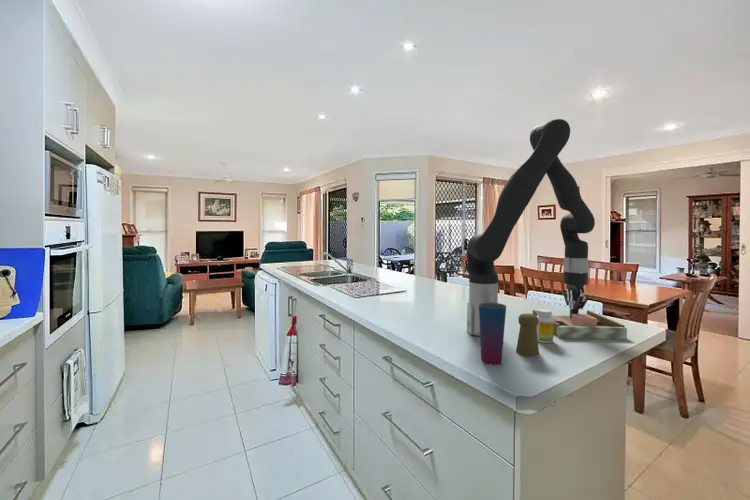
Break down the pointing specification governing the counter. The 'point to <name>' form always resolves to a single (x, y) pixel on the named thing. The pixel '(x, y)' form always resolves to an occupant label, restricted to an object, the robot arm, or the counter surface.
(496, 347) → the cup
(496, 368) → the counter surface
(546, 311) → the supplement bottle
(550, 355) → the counter surface
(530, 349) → the cork
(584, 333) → the square tray
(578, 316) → the block
